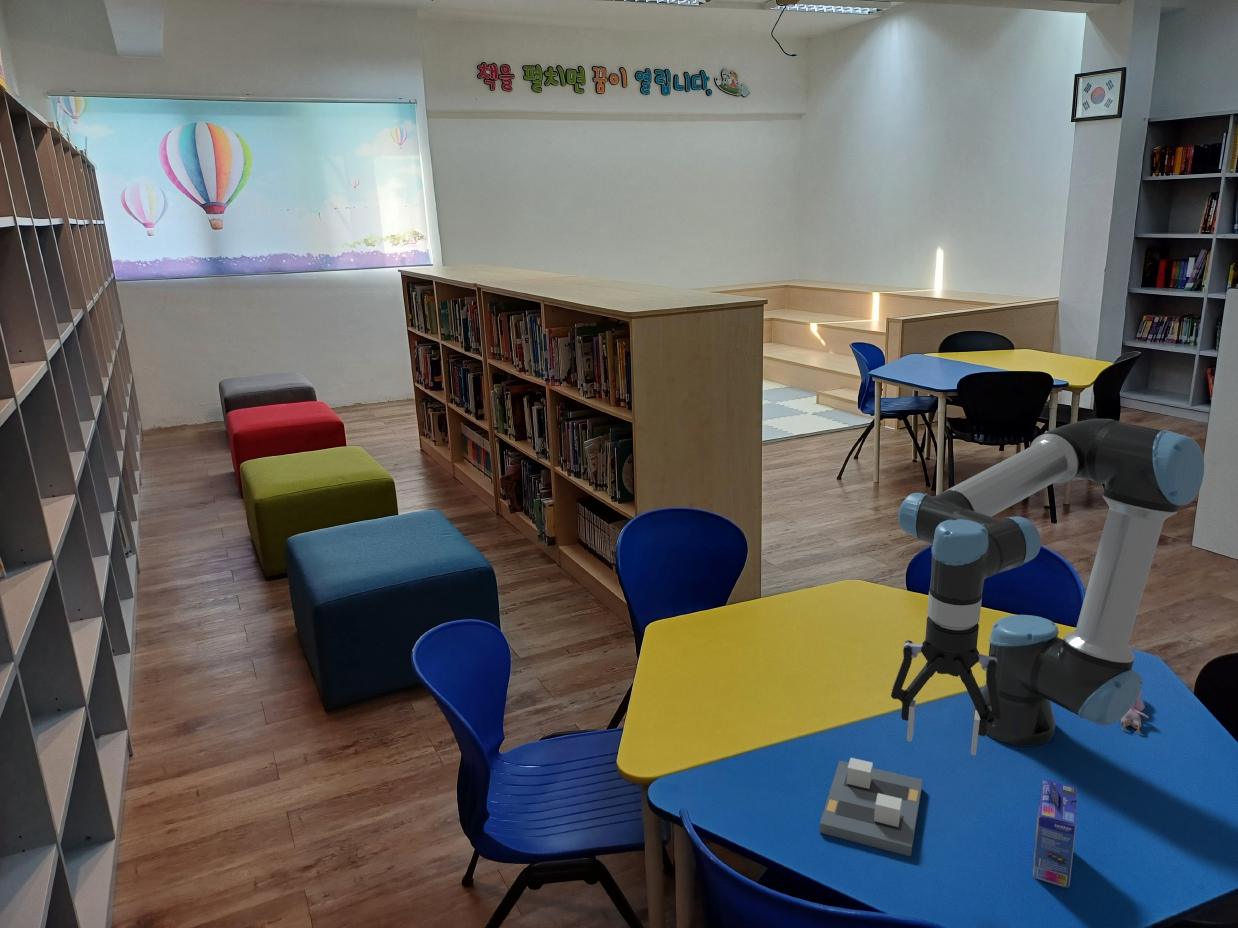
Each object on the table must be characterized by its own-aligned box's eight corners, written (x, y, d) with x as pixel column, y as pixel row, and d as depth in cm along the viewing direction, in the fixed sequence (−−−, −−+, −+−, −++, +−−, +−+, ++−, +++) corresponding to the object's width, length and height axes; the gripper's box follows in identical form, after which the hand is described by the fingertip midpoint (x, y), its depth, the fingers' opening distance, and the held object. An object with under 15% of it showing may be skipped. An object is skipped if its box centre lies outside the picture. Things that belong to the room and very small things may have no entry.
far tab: (871, 778, 157) (872, 762, 156) (869, 788, 154) (870, 772, 153) (849, 773, 158) (850, 757, 157) (846, 783, 156) (847, 767, 155)
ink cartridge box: (1033, 837, 145) (1043, 765, 140) (1070, 847, 142) (1081, 774, 138) (1030, 878, 136) (1040, 802, 132) (1069, 889, 134) (1081, 813, 129)
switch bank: (921, 788, 157) (922, 778, 156) (910, 856, 142) (911, 846, 141) (838, 769, 163) (839, 760, 162) (819, 832, 148) (820, 822, 147)
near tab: (900, 815, 147) (901, 798, 146) (898, 826, 145) (899, 809, 144) (876, 809, 149) (877, 792, 148) (874, 820, 146) (875, 803, 145)
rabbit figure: (1147, 741, 170) (1145, 692, 181) (1152, 719, 167) (1149, 670, 179) (1111, 733, 172) (1111, 685, 184) (1116, 711, 170) (1115, 664, 181)
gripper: (1030, 619, 131) (1015, 744, 138) (883, 597, 139) (875, 716, 146) (1031, 643, 124) (1014, 773, 131) (876, 618, 133) (868, 741, 140)
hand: (941, 742), depth 139 cm, fingers open, 9 cm apart
